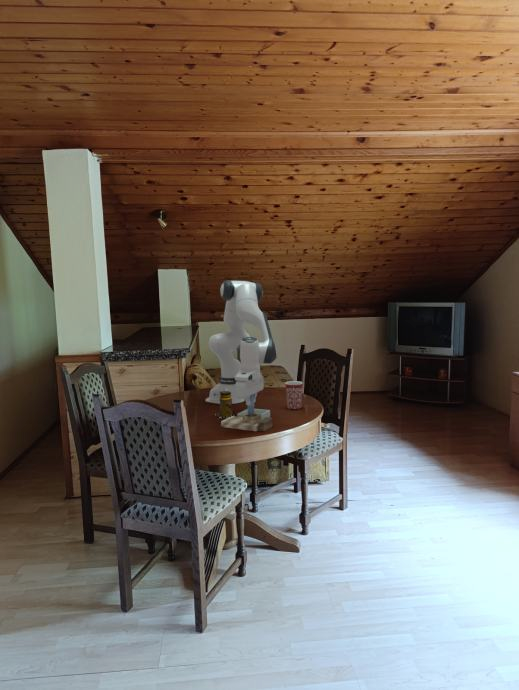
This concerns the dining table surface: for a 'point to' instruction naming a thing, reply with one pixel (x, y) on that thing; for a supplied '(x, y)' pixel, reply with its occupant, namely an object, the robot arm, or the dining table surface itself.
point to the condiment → (225, 404)
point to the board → (242, 422)
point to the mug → (294, 394)
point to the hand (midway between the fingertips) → (250, 403)
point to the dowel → (251, 407)
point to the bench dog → (265, 424)
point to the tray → (256, 411)
